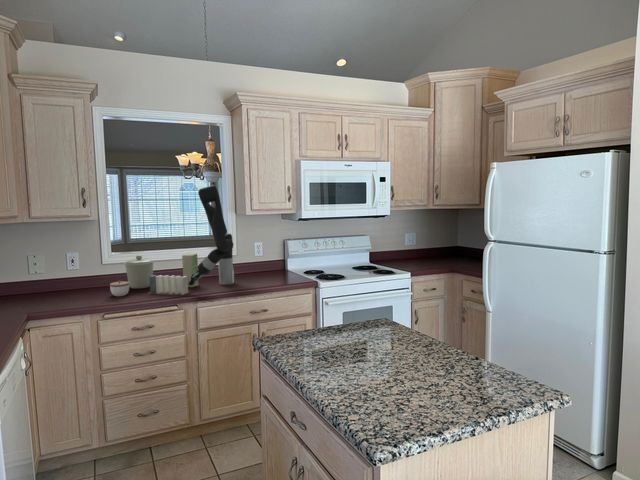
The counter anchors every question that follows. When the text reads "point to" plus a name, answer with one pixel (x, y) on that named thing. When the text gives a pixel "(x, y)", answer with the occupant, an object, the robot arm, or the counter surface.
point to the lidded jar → (119, 288)
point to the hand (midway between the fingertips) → (190, 284)
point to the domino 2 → (159, 283)
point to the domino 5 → (177, 284)
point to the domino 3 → (165, 284)
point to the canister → (139, 272)
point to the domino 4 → (171, 284)
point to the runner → (167, 293)
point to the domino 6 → (184, 285)
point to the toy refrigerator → (190, 267)
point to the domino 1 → (153, 283)
